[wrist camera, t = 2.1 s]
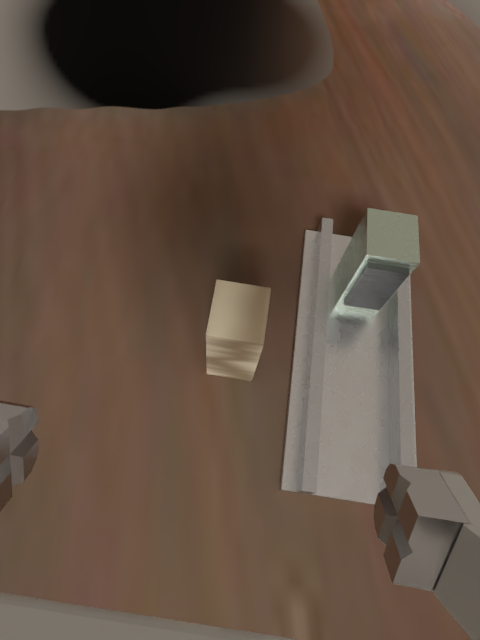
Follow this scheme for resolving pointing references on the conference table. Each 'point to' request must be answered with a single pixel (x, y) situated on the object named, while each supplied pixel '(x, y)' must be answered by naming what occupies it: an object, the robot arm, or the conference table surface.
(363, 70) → the conference table surface
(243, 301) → the wooden block
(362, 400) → the rail
